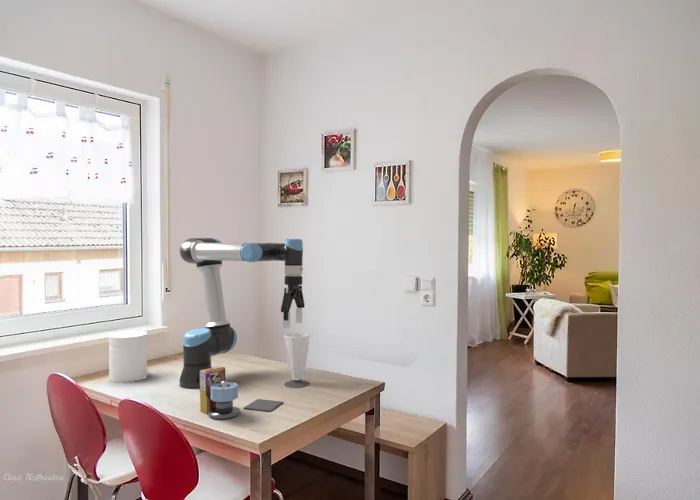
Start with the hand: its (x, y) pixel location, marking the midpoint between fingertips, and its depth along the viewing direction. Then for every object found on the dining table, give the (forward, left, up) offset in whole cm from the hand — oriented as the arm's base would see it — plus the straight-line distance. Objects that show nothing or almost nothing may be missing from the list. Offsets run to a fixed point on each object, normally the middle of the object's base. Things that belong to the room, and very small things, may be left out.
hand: (292, 325), depth 213 cm
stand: (-10, -37, -27) cm, 47 cm away
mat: (-1, -24, -27) cm, 36 cm away
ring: (-10, -37, -21) cm, 44 cm away
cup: (-1, +7, -27) cm, 28 cm away
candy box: (-17, -33, -27) cm, 46 cm away
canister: (-80, -7, -27) cm, 84 cm away
